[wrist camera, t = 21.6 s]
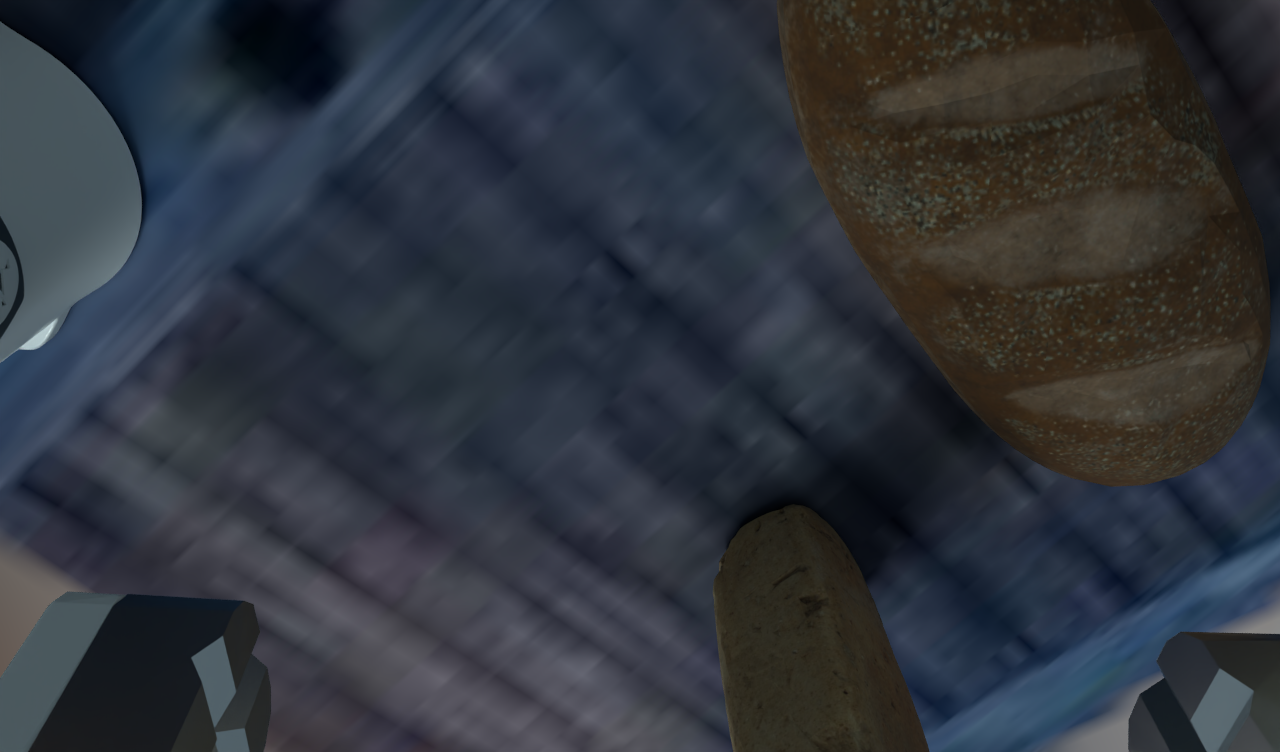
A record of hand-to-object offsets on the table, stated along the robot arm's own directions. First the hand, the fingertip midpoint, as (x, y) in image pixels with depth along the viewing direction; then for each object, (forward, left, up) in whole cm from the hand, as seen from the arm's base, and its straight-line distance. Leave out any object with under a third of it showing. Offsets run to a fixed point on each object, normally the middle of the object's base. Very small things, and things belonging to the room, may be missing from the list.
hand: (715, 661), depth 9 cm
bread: (+19, -10, -40) cm, 45 cm away
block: (+12, -35, -39) cm, 54 cm away
